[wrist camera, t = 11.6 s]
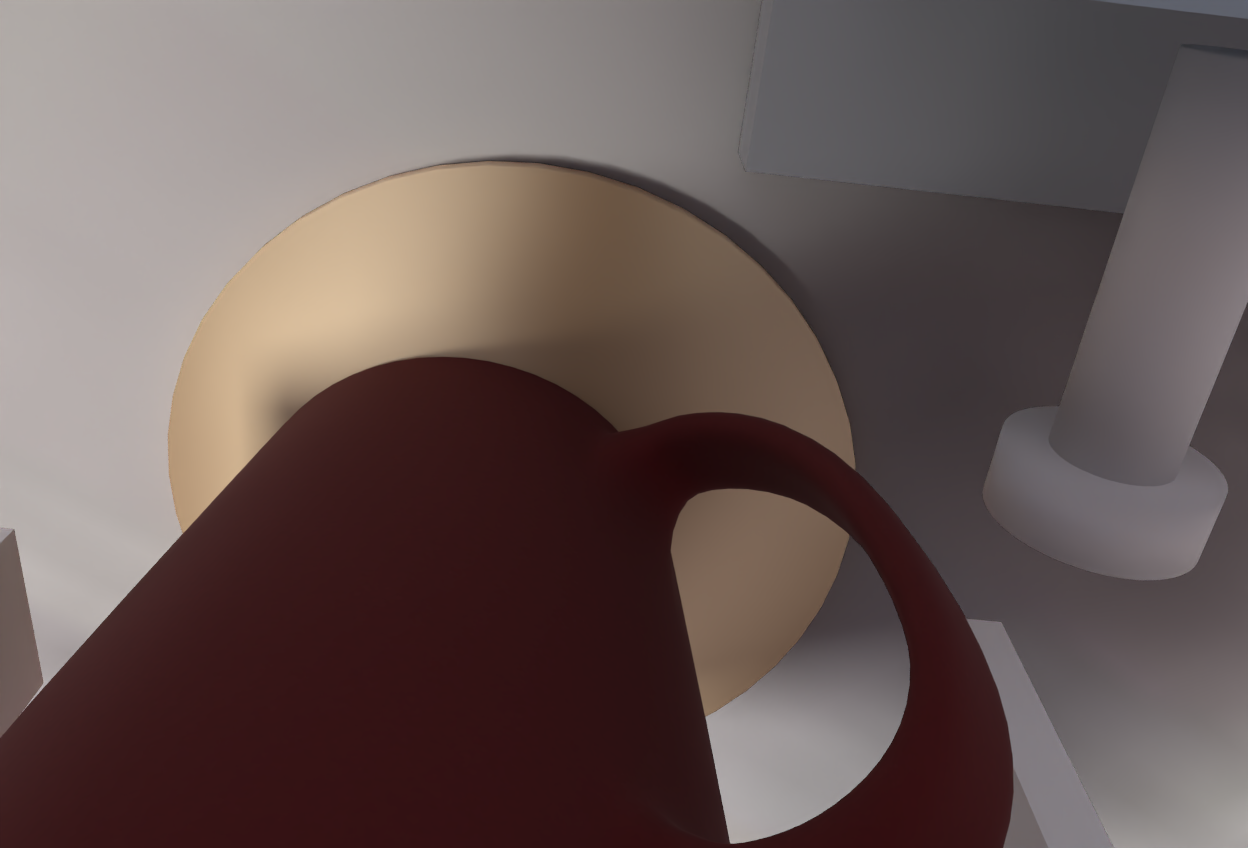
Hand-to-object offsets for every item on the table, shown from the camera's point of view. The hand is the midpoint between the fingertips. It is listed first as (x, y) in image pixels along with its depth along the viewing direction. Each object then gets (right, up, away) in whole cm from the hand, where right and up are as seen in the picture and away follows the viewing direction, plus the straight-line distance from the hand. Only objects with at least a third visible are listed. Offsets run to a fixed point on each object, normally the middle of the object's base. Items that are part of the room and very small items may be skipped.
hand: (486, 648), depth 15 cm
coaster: (0, +2, +4) cm, 4 cm away
